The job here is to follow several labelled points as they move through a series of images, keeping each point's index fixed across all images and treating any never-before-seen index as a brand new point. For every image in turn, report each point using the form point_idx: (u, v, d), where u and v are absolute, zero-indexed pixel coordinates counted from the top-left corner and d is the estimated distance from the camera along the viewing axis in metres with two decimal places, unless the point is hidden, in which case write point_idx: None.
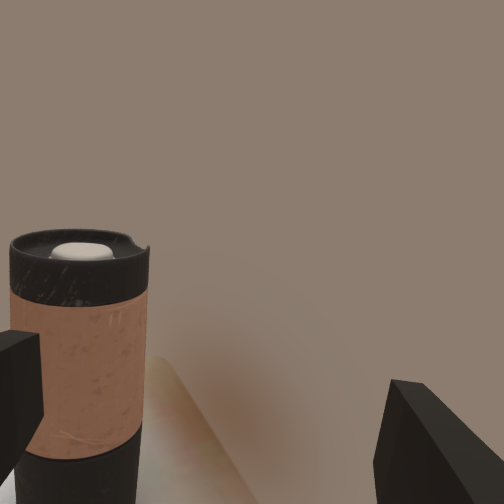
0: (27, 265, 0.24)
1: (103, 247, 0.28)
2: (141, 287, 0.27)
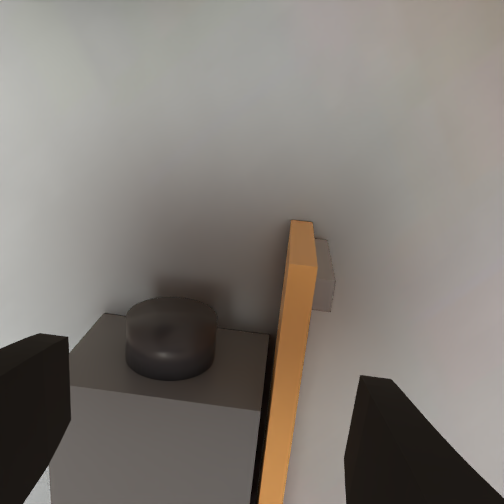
0: None
1: None
2: None
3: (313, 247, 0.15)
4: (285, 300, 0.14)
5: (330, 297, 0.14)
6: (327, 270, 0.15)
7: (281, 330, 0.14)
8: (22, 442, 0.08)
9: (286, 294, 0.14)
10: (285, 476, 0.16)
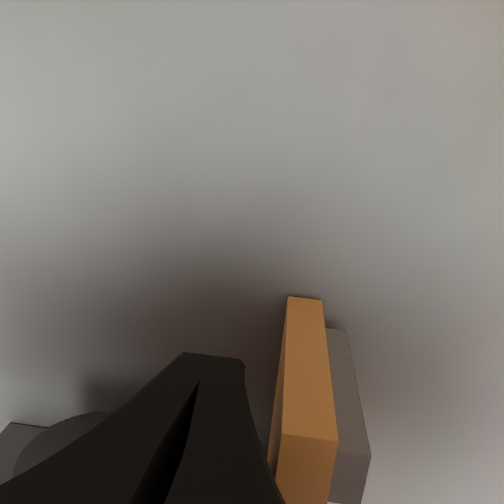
0: None
1: None
2: None
3: (326, 372, 0.08)
4: None
5: (360, 482, 0.07)
6: (352, 420, 0.08)
7: None
8: None
9: None
10: None
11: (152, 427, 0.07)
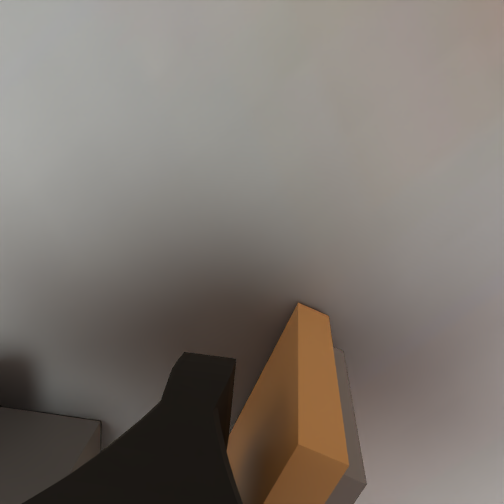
0: None
1: None
2: None
3: (336, 391, 0.08)
4: (267, 498, 0.07)
5: None
6: (350, 444, 0.08)
7: None
8: None
9: (273, 491, 0.07)
10: None
11: (185, 432, 0.06)
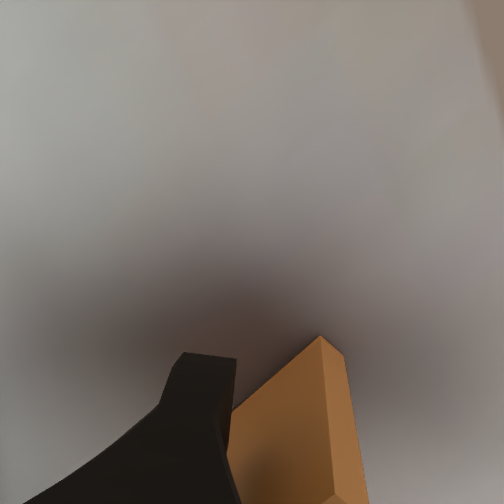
0: None
1: None
2: None
3: (356, 442, 0.09)
4: None
5: None
6: None
7: None
8: None
9: None
10: None
11: (186, 432, 0.06)
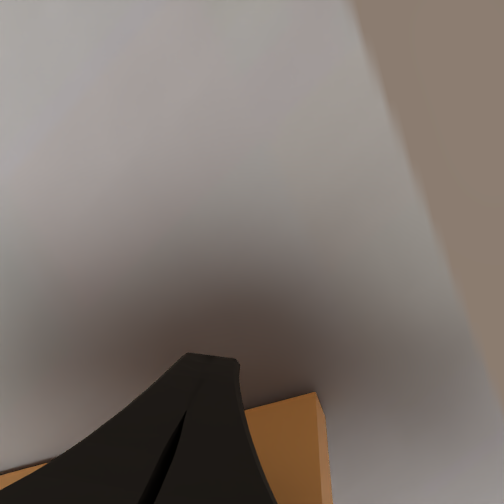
0: None
1: None
2: None
3: None
4: None
5: None
6: None
7: None
8: None
9: None
10: None
11: (158, 428, 0.06)
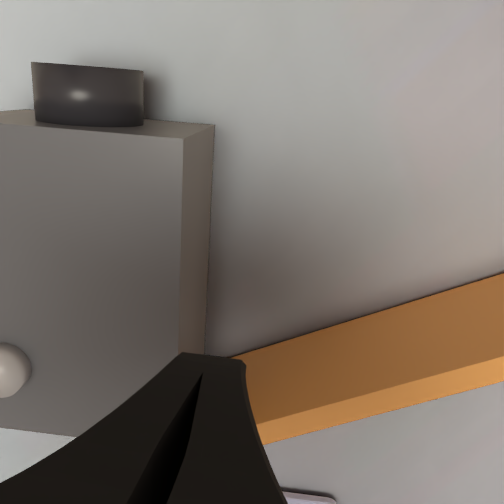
0: None
1: None
2: None
3: None
4: None
5: None
6: None
7: None
8: None
9: None
10: (431, 398, 0.14)
11: (150, 427, 0.07)
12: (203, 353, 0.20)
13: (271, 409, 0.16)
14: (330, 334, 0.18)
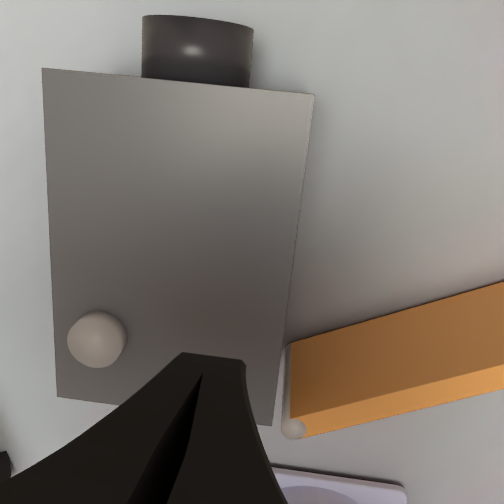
0: None
1: None
2: None
3: None
4: None
5: None
6: None
7: None
8: None
9: None
10: None
11: (150, 427, 0.07)
12: None
13: (372, 386, 0.15)
14: (417, 314, 0.18)
